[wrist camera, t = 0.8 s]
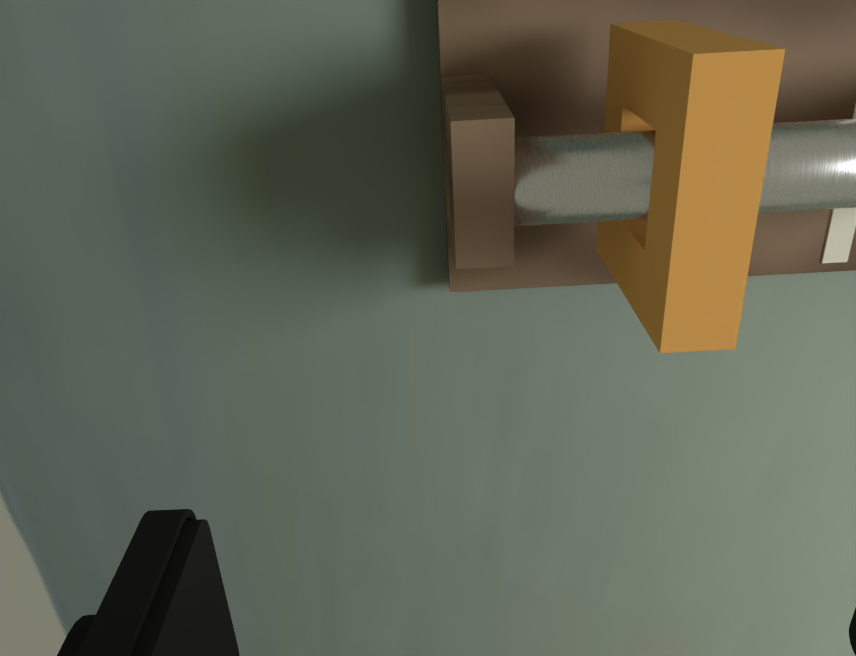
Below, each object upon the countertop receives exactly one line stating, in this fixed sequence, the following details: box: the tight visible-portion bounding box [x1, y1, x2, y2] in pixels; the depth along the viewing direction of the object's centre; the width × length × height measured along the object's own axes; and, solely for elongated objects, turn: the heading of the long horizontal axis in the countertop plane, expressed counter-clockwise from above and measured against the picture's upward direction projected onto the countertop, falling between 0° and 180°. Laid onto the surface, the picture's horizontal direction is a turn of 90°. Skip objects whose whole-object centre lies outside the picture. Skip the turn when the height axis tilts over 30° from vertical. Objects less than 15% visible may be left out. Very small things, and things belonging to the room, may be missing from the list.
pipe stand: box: [437, 0, 856, 292], centre depth 28 cm, size 15×25×11 cm, turn 93°
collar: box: [597, 20, 785, 353], centre depth 25 cm, size 9×2×9 cm, turn 3°
